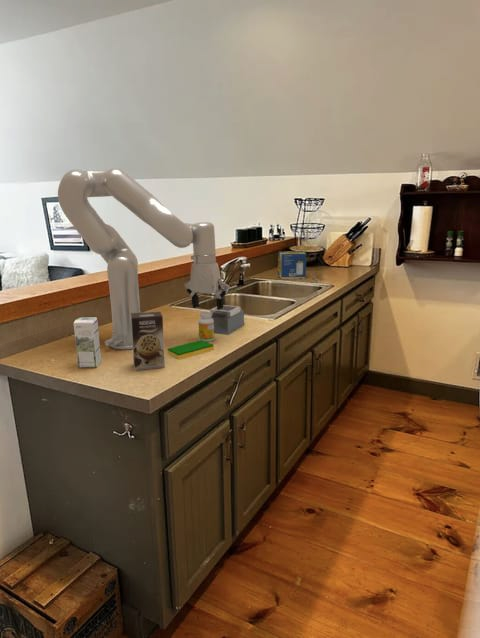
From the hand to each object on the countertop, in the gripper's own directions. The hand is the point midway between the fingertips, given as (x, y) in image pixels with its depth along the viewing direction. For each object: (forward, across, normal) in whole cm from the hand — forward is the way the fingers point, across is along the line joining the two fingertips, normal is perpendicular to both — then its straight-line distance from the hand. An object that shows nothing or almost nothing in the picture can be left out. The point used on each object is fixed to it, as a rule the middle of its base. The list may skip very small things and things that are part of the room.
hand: (207, 308), depth 164 cm
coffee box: (+11, -4, -31) cm, 33 cm away
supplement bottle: (+12, -1, -1) cm, 12 cm away
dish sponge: (+12, +1, -15) cm, 19 cm away
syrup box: (+10, -21, -38) cm, 44 cm away
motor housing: (+12, -1, +16) cm, 20 cm away
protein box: (+14, -14, +127) cm, 129 cm away
